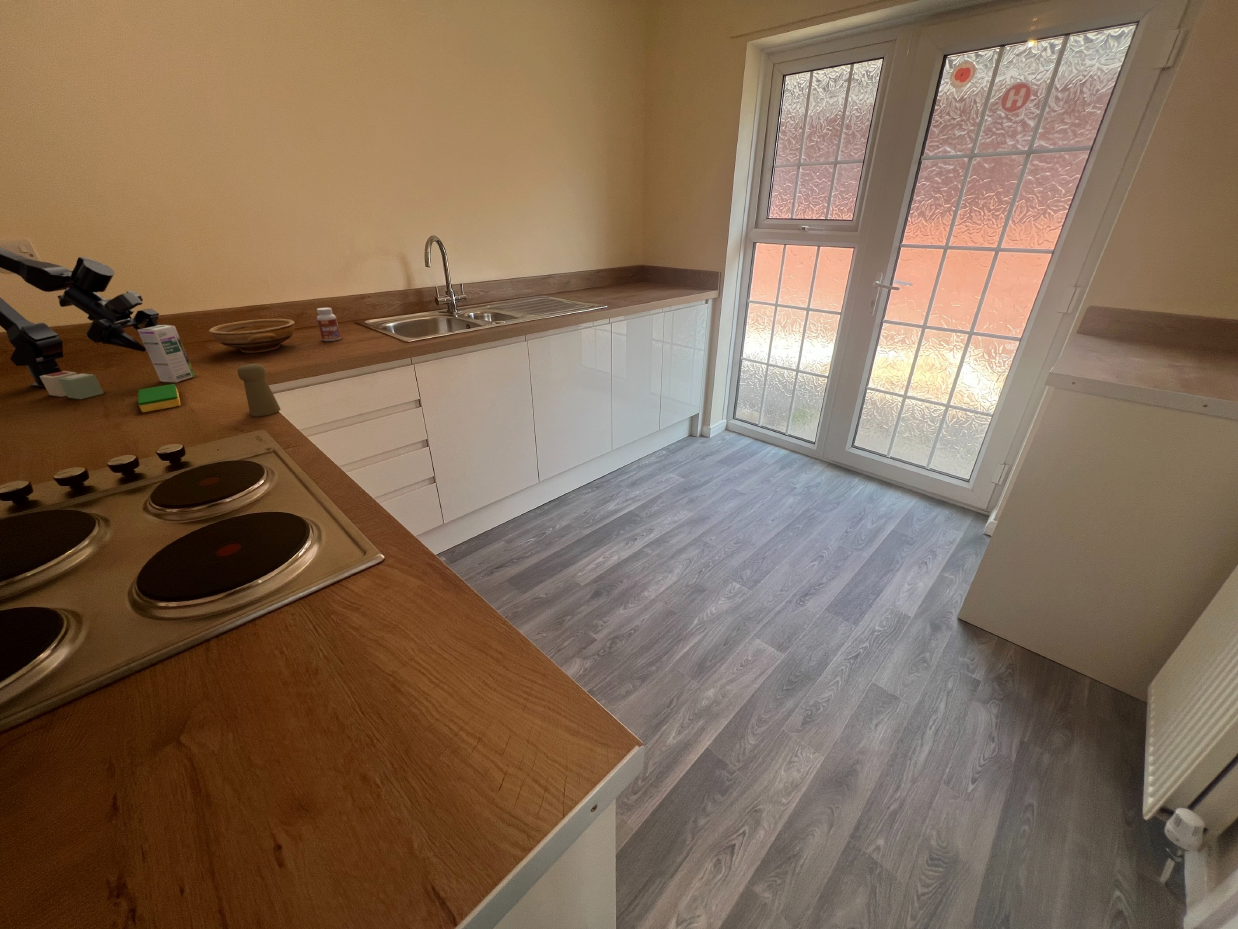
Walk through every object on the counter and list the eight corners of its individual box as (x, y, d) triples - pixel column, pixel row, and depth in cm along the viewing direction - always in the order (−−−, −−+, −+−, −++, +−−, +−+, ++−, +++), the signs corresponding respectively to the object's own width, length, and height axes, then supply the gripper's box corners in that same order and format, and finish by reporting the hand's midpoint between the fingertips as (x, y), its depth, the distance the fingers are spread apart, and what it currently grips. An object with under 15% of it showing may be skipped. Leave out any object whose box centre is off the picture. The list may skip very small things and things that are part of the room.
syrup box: (176, 382, 137) (154, 329, 131) (159, 381, 138) (136, 328, 132) (196, 376, 142) (175, 324, 136) (179, 375, 143) (158, 324, 137)
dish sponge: (178, 392, 130) (174, 383, 128) (181, 406, 120) (177, 396, 119) (142, 398, 125) (138, 389, 124) (142, 413, 116) (137, 403, 115)
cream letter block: (49, 395, 129) (39, 375, 127) (73, 389, 133) (63, 370, 131) (61, 396, 128) (51, 377, 125) (85, 390, 132) (75, 371, 130)
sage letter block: (67, 397, 127) (57, 378, 125) (91, 391, 131) (82, 372, 129) (80, 399, 125) (70, 379, 123) (104, 393, 130) (94, 374, 127)
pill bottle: (324, 342, 180) (315, 310, 175) (321, 339, 184) (312, 308, 180) (342, 339, 183) (334, 308, 178) (340, 337, 188) (332, 306, 183)
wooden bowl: (311, 349, 170) (304, 325, 166) (225, 363, 155) (215, 337, 152) (289, 336, 189) (283, 315, 186) (211, 347, 175) (202, 324, 171)
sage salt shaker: (248, 418, 112) (230, 370, 107) (251, 409, 117) (235, 363, 112) (279, 413, 115) (263, 366, 110) (281, 405, 120) (266, 360, 115)
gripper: (75, 286, 120) (144, 331, 126) (136, 277, 137) (195, 317, 142) (57, 321, 123) (126, 363, 129) (119, 308, 140) (177, 346, 145)
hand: (158, 346), depth 136 cm, fingers open, 9 cm apart
